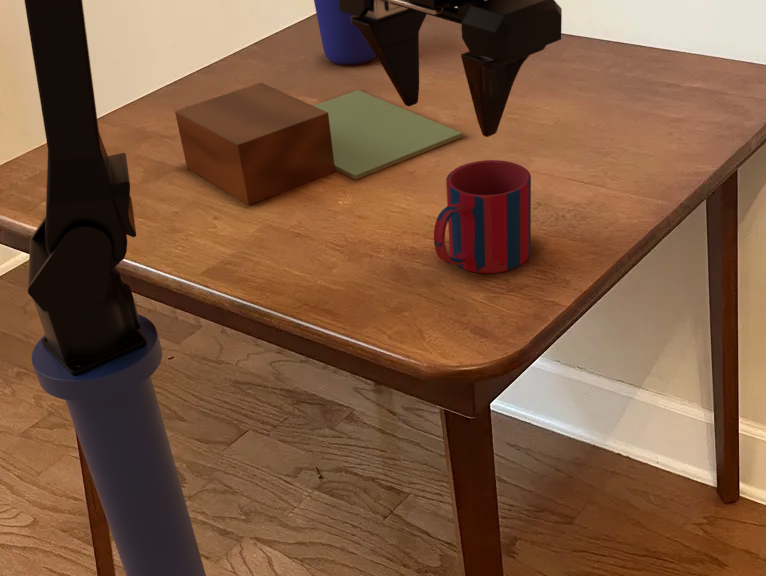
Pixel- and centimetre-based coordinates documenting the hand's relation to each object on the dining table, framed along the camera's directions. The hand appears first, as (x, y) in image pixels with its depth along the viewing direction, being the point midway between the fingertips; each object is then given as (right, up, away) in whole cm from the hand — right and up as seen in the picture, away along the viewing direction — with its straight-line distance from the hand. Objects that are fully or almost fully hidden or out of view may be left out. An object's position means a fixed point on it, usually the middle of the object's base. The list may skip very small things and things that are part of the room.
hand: (449, 119), depth 80 cm
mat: (-8, +7, +28) cm, 30 cm away
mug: (-8, +21, +46) cm, 51 cm away
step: (-18, +2, +22) cm, 29 cm away
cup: (+2, -10, +5) cm, 12 cm away
